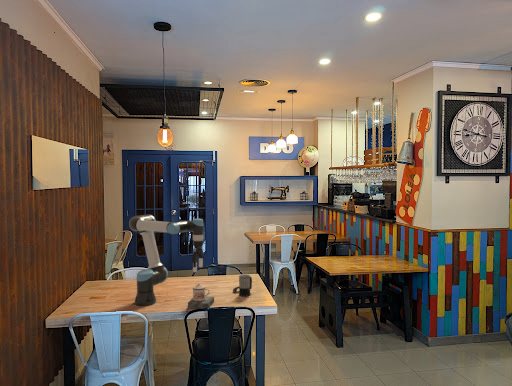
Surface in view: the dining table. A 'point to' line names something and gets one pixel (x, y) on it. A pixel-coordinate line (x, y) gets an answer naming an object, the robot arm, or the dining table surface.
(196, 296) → the teacup with lid
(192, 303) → the grey stand
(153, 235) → the robot arm
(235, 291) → the milk frother
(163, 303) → the dining table surface
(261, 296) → the dining table surface
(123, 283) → the dining table surface
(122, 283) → the dining table surface
